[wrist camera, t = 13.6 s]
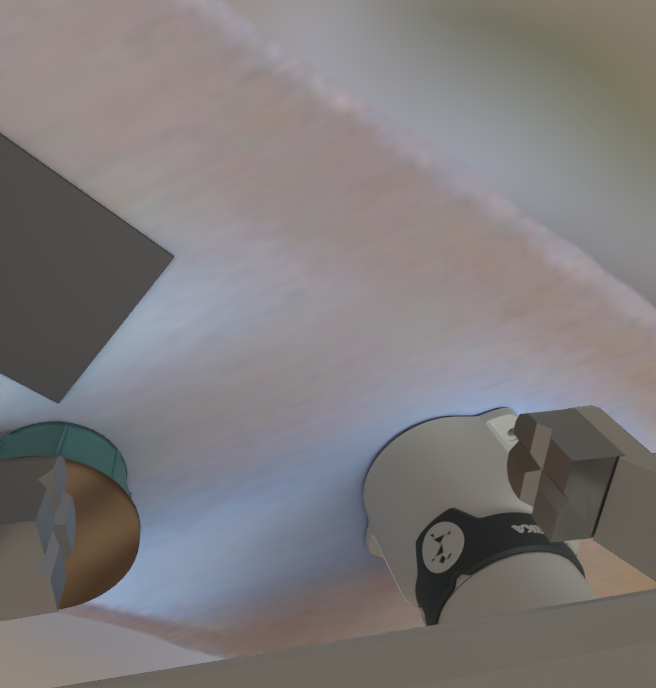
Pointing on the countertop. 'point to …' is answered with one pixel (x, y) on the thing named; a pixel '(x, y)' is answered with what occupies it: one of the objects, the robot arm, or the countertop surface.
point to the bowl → (67, 447)
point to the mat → (62, 274)
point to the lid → (98, 534)
